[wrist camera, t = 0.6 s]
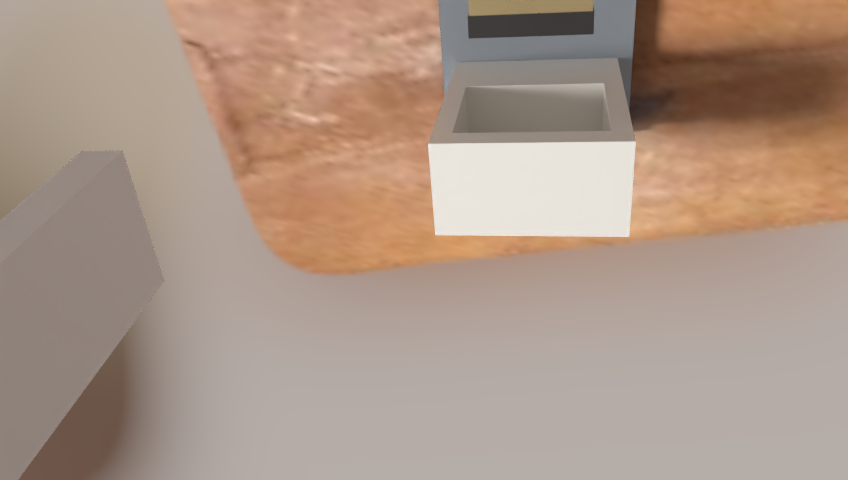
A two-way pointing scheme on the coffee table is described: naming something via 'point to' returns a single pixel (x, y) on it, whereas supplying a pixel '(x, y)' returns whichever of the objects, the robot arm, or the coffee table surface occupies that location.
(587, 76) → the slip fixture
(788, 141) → the coffee table surface
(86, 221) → the robot arm
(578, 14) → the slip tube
